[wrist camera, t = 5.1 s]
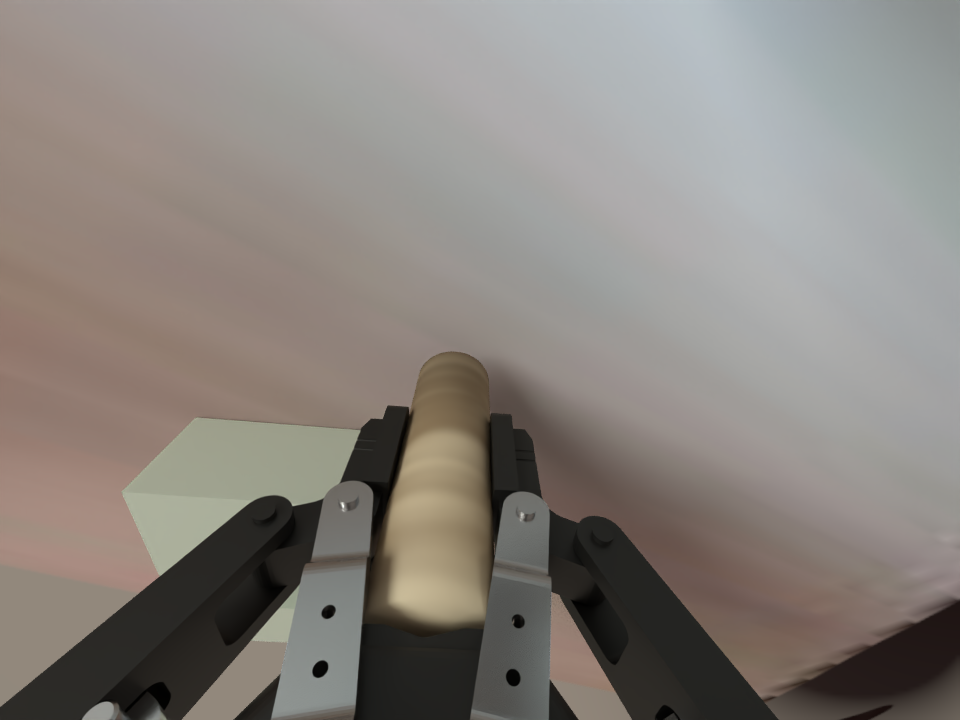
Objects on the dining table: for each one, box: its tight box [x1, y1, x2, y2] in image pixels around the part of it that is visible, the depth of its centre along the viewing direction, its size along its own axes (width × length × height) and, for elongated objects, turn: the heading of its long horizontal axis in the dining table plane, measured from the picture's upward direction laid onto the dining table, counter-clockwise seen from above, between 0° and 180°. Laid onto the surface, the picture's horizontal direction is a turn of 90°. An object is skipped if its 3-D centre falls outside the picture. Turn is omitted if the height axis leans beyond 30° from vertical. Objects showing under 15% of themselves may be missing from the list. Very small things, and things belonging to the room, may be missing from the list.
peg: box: [364, 352, 494, 637], centre depth 13 cm, size 3×3×10 cm
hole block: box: [122, 417, 361, 642], centre depth 22 cm, size 11×11×5 cm
